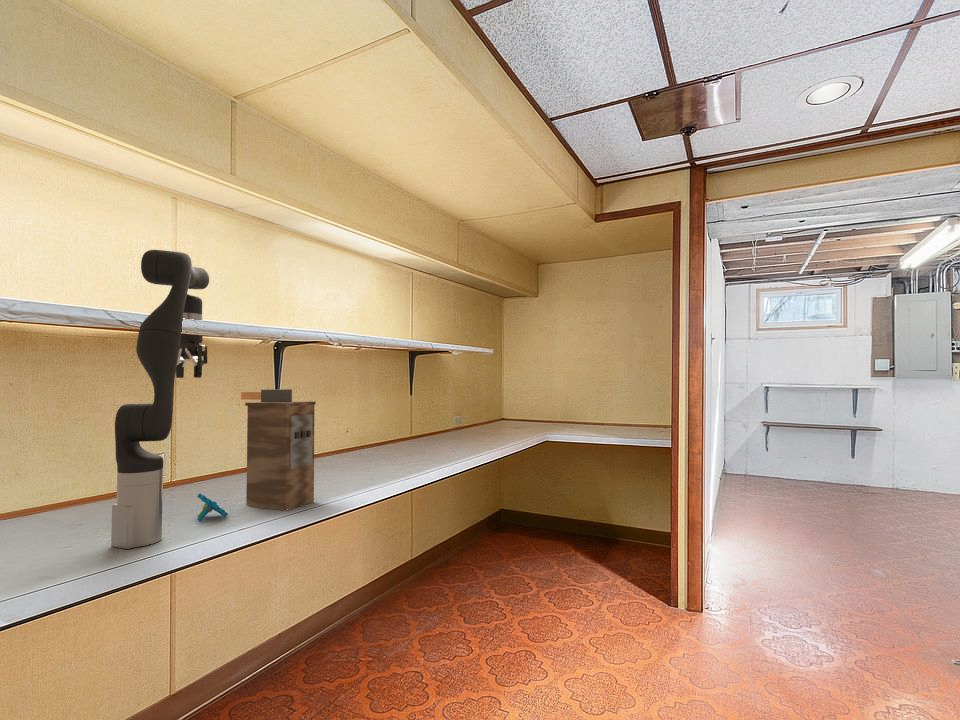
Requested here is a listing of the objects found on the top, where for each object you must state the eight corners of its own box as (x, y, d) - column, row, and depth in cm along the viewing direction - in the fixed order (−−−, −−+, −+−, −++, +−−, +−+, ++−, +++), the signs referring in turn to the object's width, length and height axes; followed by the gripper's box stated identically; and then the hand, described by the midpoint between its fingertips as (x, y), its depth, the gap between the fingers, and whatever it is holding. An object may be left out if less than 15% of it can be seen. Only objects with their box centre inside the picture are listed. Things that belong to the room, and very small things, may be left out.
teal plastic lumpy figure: (233, 513, 139) (204, 491, 135) (217, 532, 136) (187, 510, 132) (224, 511, 147) (197, 490, 144) (209, 529, 144) (180, 508, 141)
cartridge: (279, 402, 155) (280, 389, 156) (238, 401, 163) (238, 389, 163) (291, 401, 160) (291, 389, 160) (251, 401, 167) (251, 389, 168)
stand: (287, 511, 147) (288, 403, 149) (243, 505, 155) (245, 402, 156) (318, 501, 159) (318, 401, 161) (276, 497, 166) (277, 401, 168)
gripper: (163, 328, 162) (162, 378, 161) (193, 325, 156) (192, 377, 156) (185, 330, 169) (184, 378, 168) (215, 328, 163) (214, 377, 162)
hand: (188, 377), depth 162 cm, fingers open, 8 cm apart
